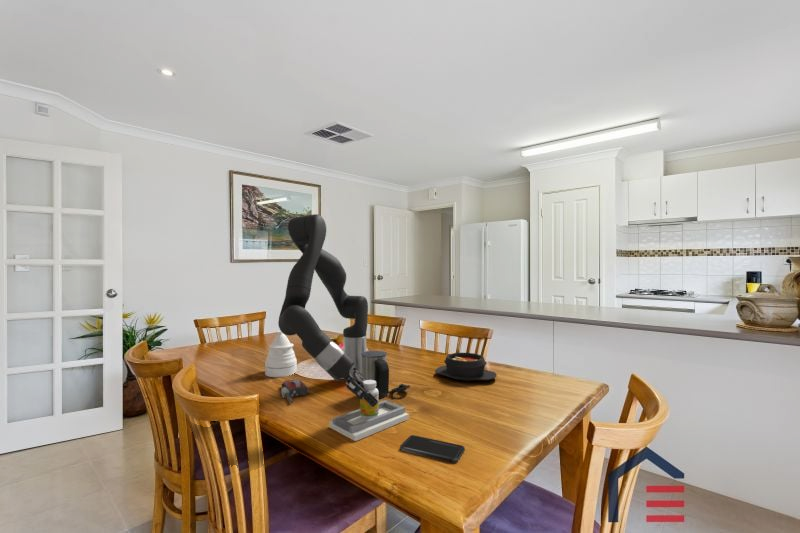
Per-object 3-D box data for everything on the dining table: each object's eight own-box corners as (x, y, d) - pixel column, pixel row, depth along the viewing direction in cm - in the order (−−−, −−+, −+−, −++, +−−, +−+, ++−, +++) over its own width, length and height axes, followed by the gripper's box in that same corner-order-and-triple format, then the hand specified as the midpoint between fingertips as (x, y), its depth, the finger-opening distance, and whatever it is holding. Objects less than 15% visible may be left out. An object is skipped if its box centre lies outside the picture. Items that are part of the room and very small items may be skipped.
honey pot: (291, 377, 156) (291, 333, 156) (260, 377, 156) (260, 333, 156) (300, 368, 169) (300, 327, 169) (271, 368, 169) (271, 327, 169)
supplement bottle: (357, 413, 113) (357, 380, 113) (374, 410, 115) (374, 378, 115) (363, 420, 108) (363, 385, 108) (381, 417, 110) (381, 383, 110)
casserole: (501, 375, 158) (501, 354, 158) (490, 388, 142) (490, 365, 141) (444, 367, 170) (444, 348, 169) (427, 379, 153) (427, 358, 153)
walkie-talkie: (276, 389, 143) (288, 406, 125) (276, 377, 143) (288, 393, 125) (299, 385, 147) (314, 401, 130) (299, 373, 147) (314, 388, 130)
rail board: (382, 408, 123) (382, 398, 123) (408, 419, 114) (408, 409, 114) (329, 427, 109) (329, 416, 109) (355, 441, 100) (355, 429, 100)
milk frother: (355, 395, 135) (355, 353, 135) (387, 384, 146) (387, 345, 146) (383, 405, 125) (383, 360, 125) (415, 393, 137) (415, 351, 136)
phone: (456, 460, 89) (398, 446, 95) (456, 465, 89) (398, 451, 95) (466, 446, 96) (411, 434, 103) (466, 450, 96) (411, 438, 103)
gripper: (341, 357, 103) (385, 400, 104) (345, 345, 118) (384, 383, 119) (321, 377, 103) (366, 420, 104) (327, 363, 117) (366, 400, 118)
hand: (375, 400), depth 111 cm, fingers closed on supplement bottle, 5 cm apart
